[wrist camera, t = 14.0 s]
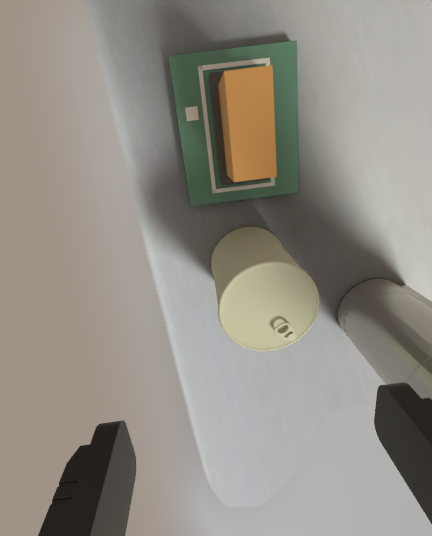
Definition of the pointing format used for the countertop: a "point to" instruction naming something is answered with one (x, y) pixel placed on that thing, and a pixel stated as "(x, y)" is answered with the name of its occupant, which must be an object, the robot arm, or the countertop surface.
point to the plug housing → (248, 123)
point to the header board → (280, 113)
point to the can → (261, 291)
